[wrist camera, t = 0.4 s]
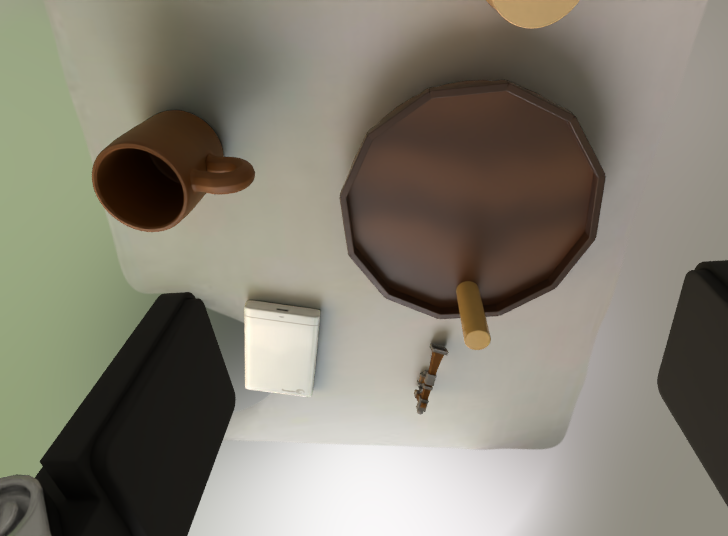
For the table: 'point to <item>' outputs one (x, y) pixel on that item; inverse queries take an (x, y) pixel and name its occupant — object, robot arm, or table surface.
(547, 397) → the table surface
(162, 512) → the robot arm
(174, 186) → the mug
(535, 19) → the tan cylinder
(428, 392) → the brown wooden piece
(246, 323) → the hard drive
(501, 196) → the tray
